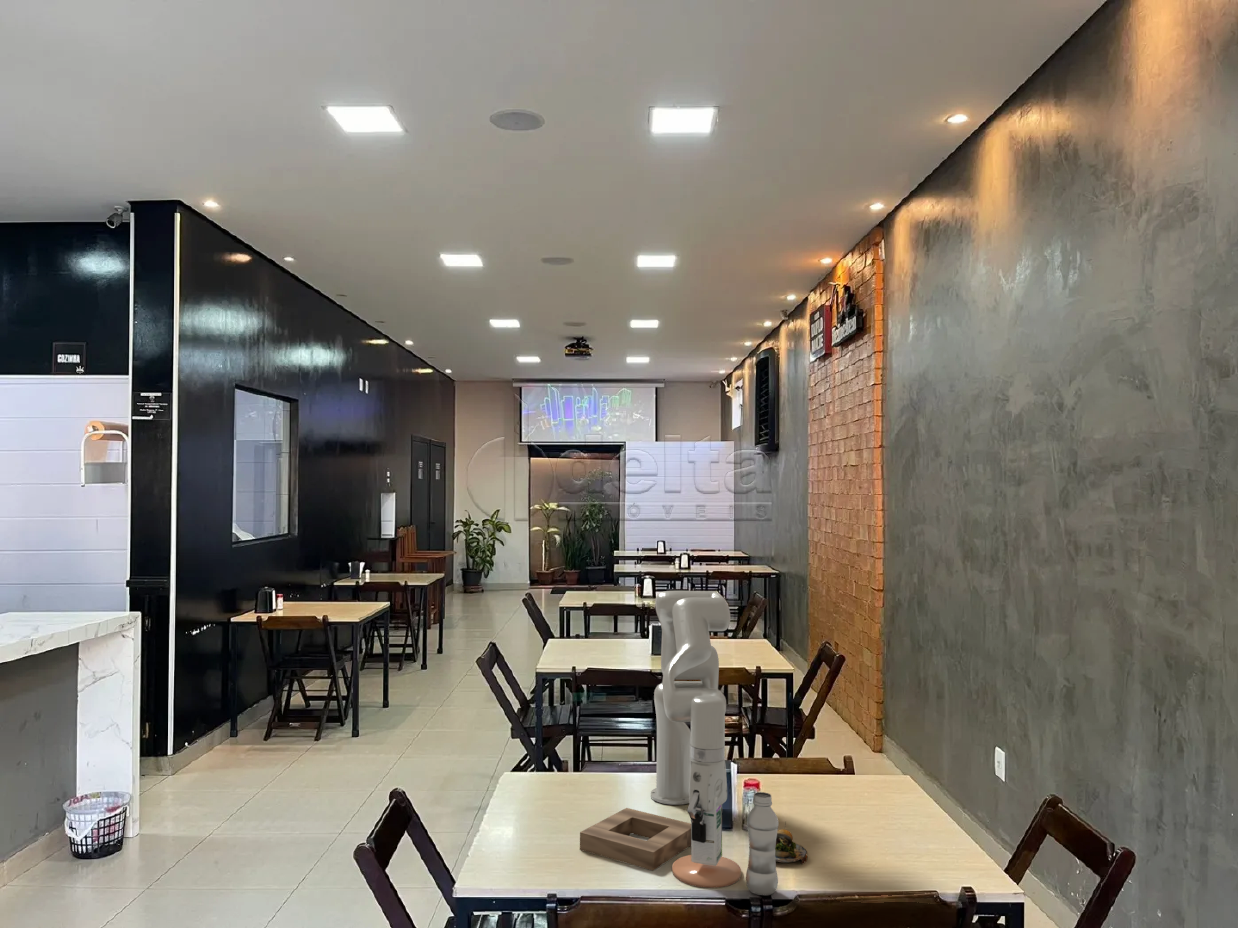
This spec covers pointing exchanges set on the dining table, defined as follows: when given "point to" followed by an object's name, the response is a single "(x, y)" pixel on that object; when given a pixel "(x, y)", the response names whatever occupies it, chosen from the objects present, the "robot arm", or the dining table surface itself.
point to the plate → (706, 872)
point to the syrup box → (709, 838)
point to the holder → (618, 845)
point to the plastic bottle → (762, 846)
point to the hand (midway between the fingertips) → (706, 835)
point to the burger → (788, 848)
